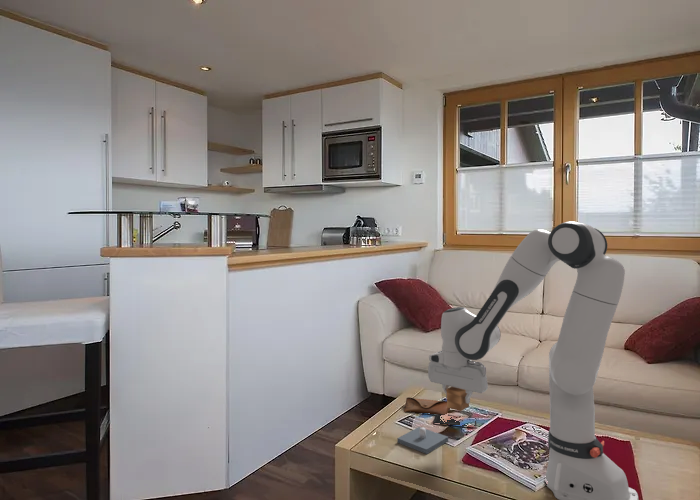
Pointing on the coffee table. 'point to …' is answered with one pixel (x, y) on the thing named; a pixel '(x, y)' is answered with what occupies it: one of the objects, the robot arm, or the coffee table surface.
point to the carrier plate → (422, 440)
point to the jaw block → (456, 398)
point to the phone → (451, 422)
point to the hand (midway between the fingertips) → (457, 400)
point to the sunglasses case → (425, 406)
